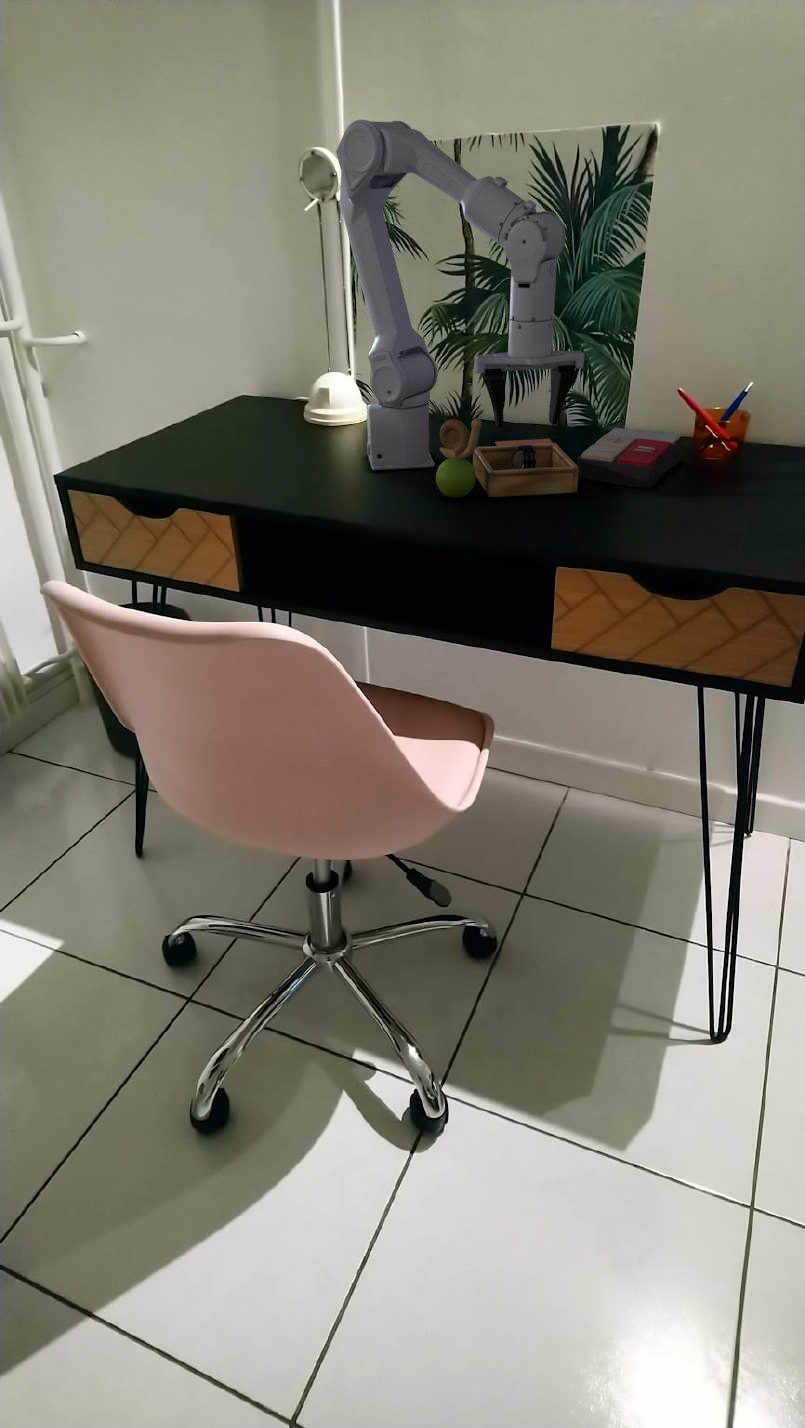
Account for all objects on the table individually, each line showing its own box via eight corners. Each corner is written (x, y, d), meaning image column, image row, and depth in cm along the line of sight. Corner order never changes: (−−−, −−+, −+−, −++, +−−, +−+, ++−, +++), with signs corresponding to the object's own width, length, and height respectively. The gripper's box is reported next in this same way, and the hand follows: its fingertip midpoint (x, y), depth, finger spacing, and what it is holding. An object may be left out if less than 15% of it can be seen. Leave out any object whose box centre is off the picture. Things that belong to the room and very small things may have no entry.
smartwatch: (540, 476, 130) (542, 442, 127) (533, 487, 125) (535, 452, 123) (512, 474, 131) (513, 440, 128) (505, 485, 126) (506, 450, 124)
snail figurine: (469, 507, 119) (471, 415, 113) (428, 499, 122) (428, 409, 116) (488, 495, 123) (491, 406, 116) (448, 488, 126) (448, 400, 119)
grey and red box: (576, 452, 126) (613, 423, 137) (574, 482, 129) (611, 451, 139) (652, 463, 122) (684, 431, 132) (649, 493, 124) (681, 460, 134)
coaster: (506, 459, 137) (506, 457, 137) (494, 443, 145) (495, 441, 145) (563, 456, 138) (563, 453, 138) (549, 441, 146) (549, 438, 145)
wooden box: (488, 497, 122) (489, 472, 120) (472, 470, 133) (472, 447, 131) (577, 492, 123) (579, 467, 121) (554, 466, 134) (555, 442, 132)
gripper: (482, 325, 113) (479, 434, 120) (594, 320, 114) (585, 429, 121) (472, 317, 119) (470, 421, 126) (578, 313, 120) (571, 416, 127)
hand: (526, 424), depth 124 cm, fingers open, 7 cm apart
